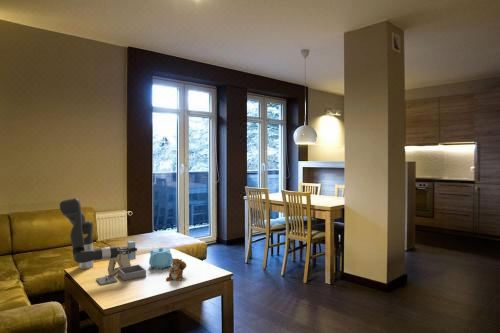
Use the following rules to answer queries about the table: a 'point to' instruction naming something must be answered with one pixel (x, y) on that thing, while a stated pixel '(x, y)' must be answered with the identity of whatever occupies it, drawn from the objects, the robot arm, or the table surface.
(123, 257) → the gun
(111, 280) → the stud plate
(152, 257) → the decorative pot
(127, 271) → the bin
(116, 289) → the table surface
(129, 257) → the strut
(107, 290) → the table surface
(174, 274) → the stuffed squirrel
